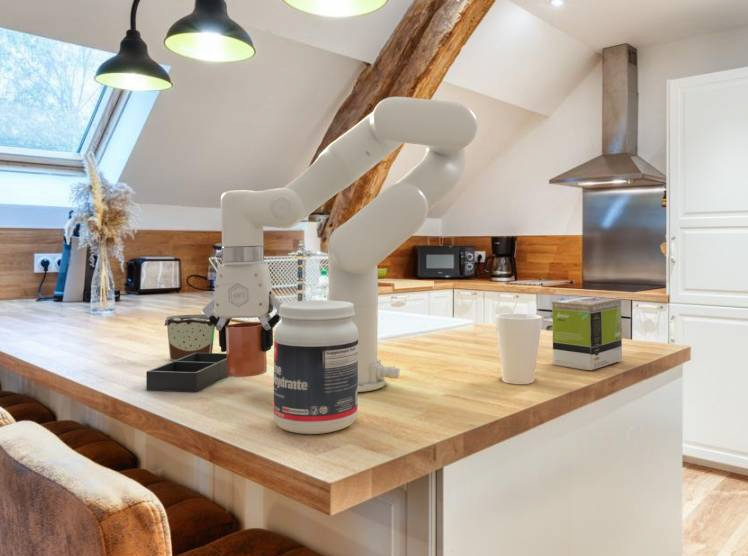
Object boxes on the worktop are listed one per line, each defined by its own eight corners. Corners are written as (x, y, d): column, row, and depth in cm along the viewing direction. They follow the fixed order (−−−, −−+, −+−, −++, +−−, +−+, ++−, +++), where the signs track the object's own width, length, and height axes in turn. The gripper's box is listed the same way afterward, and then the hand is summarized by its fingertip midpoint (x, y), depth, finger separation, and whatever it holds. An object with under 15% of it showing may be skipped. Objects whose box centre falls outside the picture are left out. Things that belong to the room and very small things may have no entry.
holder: (195, 368, 133) (195, 352, 133) (238, 370, 132) (238, 353, 132) (146, 390, 114) (146, 371, 114) (196, 392, 113) (196, 373, 113)
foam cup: (488, 383, 122) (489, 317, 122) (500, 373, 130) (501, 312, 130) (536, 387, 118) (537, 320, 118) (545, 378, 127) (546, 314, 127)
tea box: (584, 356, 151) (584, 295, 151) (623, 362, 144) (623, 298, 144) (550, 364, 140) (551, 299, 140) (591, 371, 133) (591, 303, 133)
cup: (272, 368, 119) (270, 321, 119) (258, 377, 112) (256, 327, 112) (236, 368, 120) (235, 322, 120) (220, 377, 113) (218, 328, 112)
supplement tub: (255, 425, 93) (256, 304, 93) (319, 407, 103) (320, 298, 103) (311, 443, 85) (312, 311, 85) (375, 422, 95) (376, 303, 95)
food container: (226, 356, 146) (226, 314, 146) (215, 361, 140) (215, 318, 140) (177, 355, 148) (177, 313, 148) (164, 360, 142) (164, 316, 142)
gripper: (189, 258, 113) (193, 354, 113) (281, 256, 111) (284, 354, 111) (208, 256, 120) (211, 347, 120) (294, 254, 118) (297, 346, 118)
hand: (246, 349), depth 116 cm, fingers closed on cup, 7 cm apart
